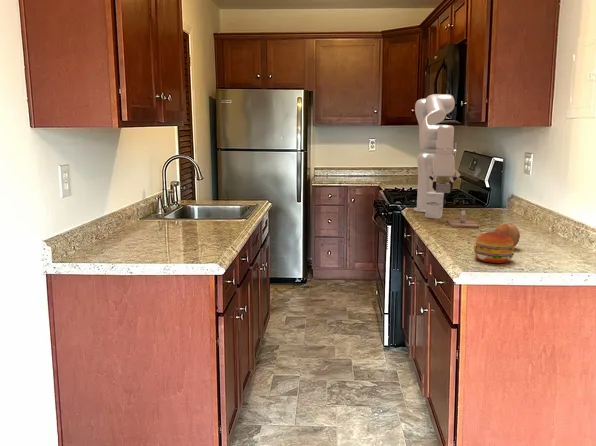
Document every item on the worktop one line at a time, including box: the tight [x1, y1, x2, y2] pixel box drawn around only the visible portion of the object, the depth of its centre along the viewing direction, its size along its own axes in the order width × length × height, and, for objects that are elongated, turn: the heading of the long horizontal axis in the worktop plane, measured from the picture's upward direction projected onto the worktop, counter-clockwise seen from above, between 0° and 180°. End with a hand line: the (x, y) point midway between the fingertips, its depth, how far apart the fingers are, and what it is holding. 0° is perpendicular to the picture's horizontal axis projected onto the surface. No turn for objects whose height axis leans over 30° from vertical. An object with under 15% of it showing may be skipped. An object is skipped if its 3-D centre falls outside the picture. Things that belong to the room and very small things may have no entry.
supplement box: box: [424, 192, 445, 220], centre depth 277 cm, size 7×7×13 cm
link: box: [434, 181, 451, 194], centre depth 260 cm, size 8×6×4 cm
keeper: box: [446, 210, 480, 229], centre depth 258 cm, size 16×12×6 cm
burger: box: [473, 231, 515, 264], centre depth 191 cm, size 13×14×10 cm
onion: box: [493, 222, 521, 247], centre depth 210 cm, size 10×10×10 cm
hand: (442, 190), depth 260 cm, fingers closed on link, 6 cm apart
